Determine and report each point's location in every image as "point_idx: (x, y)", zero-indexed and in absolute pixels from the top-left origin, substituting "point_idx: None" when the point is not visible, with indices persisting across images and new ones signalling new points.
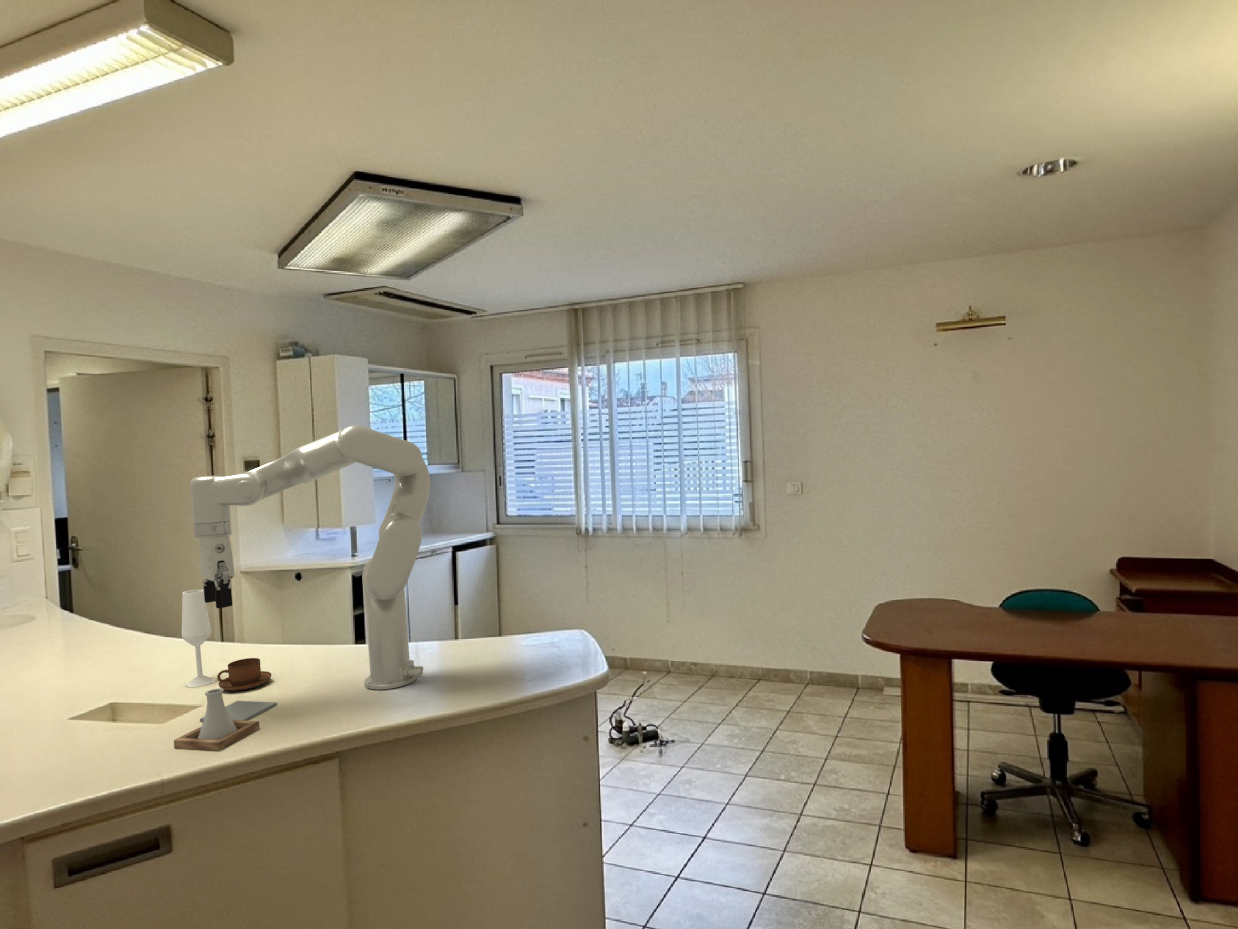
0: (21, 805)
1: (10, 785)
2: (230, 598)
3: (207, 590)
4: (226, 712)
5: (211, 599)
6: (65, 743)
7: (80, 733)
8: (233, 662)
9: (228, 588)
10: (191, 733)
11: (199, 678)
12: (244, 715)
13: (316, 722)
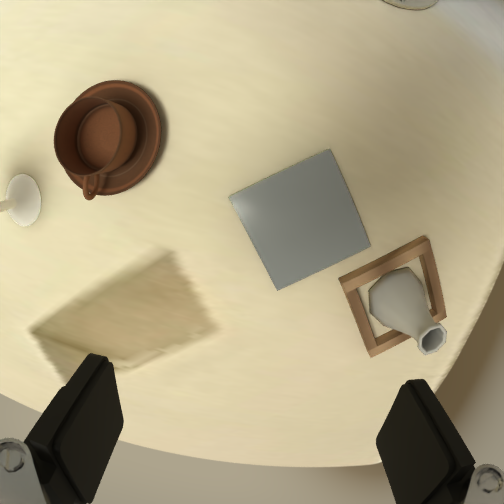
0: (357, 461)
1: (288, 466)
2: (440, 415)
3: (95, 474)
4: (423, 301)
5: (115, 411)
6: (183, 422)
7: (152, 403)
8: (58, 154)
9: (485, 477)
10: (370, 333)
11: (21, 206)
12: (346, 228)
13: (476, 165)
